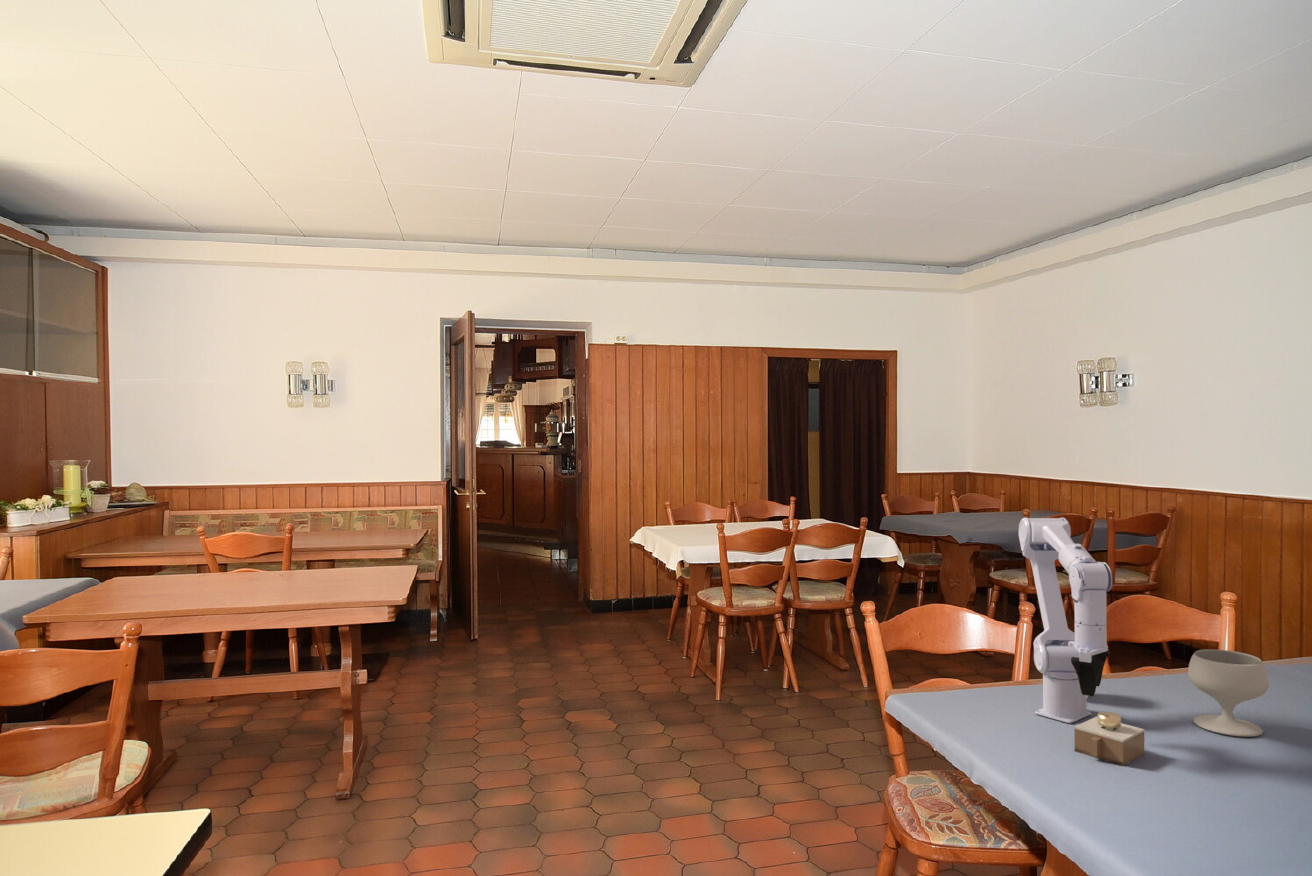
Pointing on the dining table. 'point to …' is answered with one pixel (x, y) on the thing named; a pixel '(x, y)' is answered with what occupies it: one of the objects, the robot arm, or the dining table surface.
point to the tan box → (1109, 741)
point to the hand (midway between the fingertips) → (1090, 690)
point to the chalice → (1228, 687)
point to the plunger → (1109, 720)
